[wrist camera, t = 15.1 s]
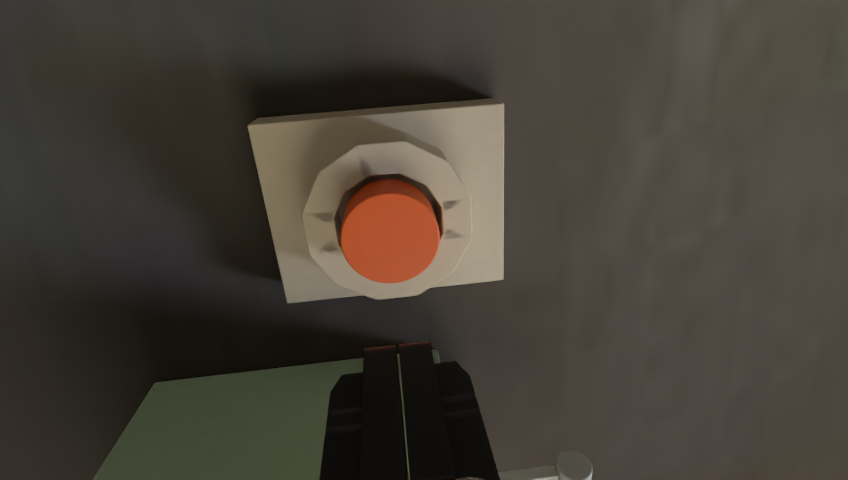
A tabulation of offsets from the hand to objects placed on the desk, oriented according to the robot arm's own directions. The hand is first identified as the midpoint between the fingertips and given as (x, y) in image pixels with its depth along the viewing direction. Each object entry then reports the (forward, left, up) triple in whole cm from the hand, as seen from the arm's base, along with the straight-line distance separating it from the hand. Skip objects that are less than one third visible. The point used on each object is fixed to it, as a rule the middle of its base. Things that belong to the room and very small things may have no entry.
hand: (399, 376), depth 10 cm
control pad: (0, 0, -12) cm, 12 cm away
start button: (0, 0, -9) cm, 9 cm away
